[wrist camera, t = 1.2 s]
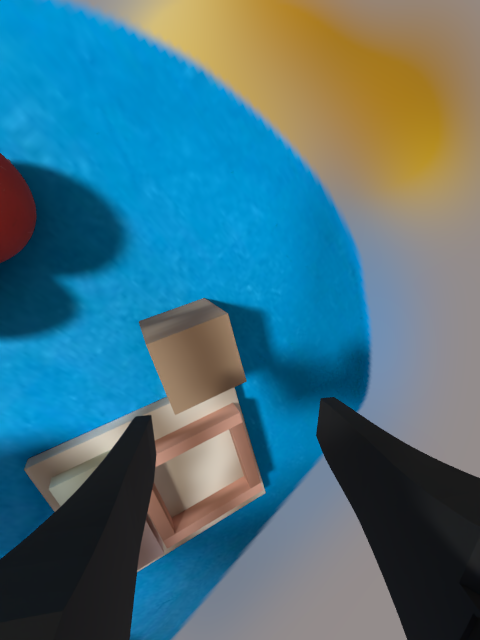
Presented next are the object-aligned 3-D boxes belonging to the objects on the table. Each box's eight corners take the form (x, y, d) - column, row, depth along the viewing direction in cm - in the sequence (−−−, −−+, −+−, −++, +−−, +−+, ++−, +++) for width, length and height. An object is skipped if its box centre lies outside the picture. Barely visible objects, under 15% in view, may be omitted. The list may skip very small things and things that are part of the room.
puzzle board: (110, 575, 25) (110, 609, 22) (27, 458, 19) (17, 487, 17) (261, 485, 29) (273, 505, 27) (226, 370, 24) (238, 383, 22)
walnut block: (162, 379, 22) (175, 415, 17) (138, 321, 20) (146, 344, 16) (221, 354, 23) (246, 381, 19) (204, 297, 22) (227, 313, 17)
